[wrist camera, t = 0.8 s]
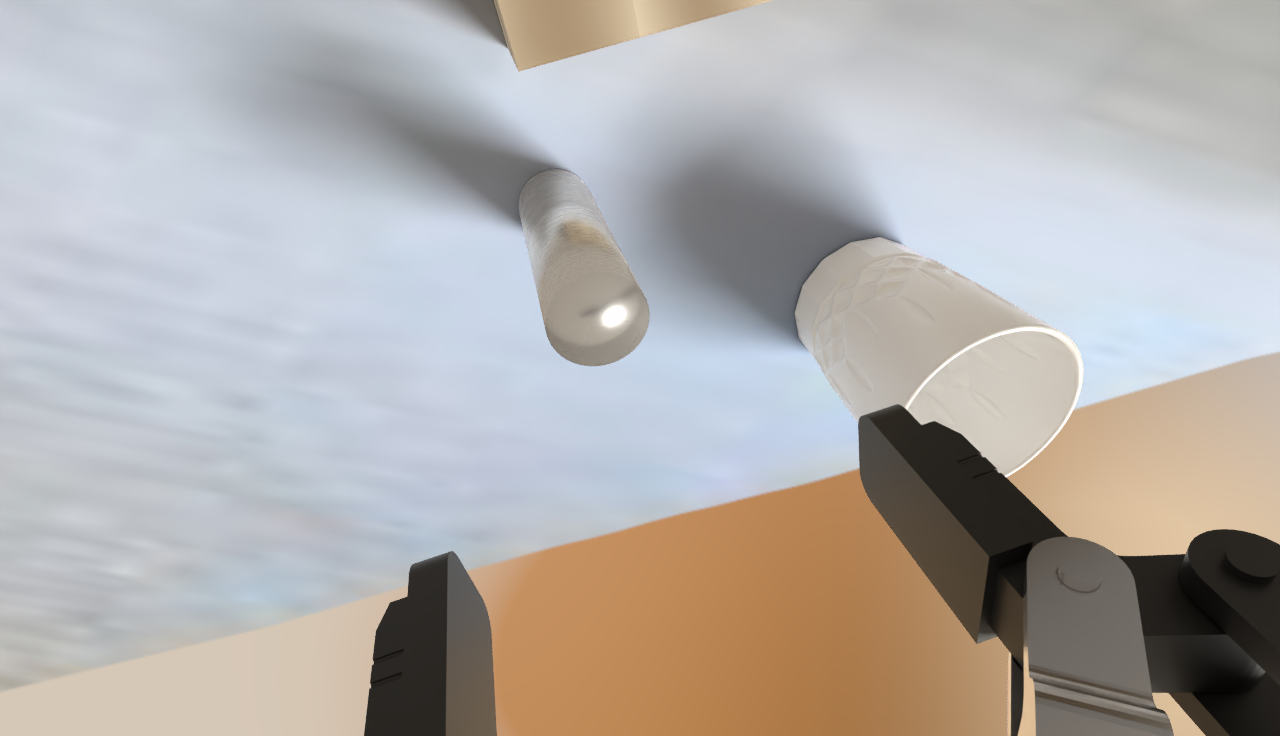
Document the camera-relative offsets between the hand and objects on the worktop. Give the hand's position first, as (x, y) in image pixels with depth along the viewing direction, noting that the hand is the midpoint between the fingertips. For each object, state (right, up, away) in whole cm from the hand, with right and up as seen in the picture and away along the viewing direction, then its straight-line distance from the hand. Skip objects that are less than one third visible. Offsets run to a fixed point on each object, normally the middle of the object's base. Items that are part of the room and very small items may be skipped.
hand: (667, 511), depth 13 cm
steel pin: (-4, +9, +14) cm, 18 cm away
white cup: (+10, +6, +21) cm, 24 cm away
